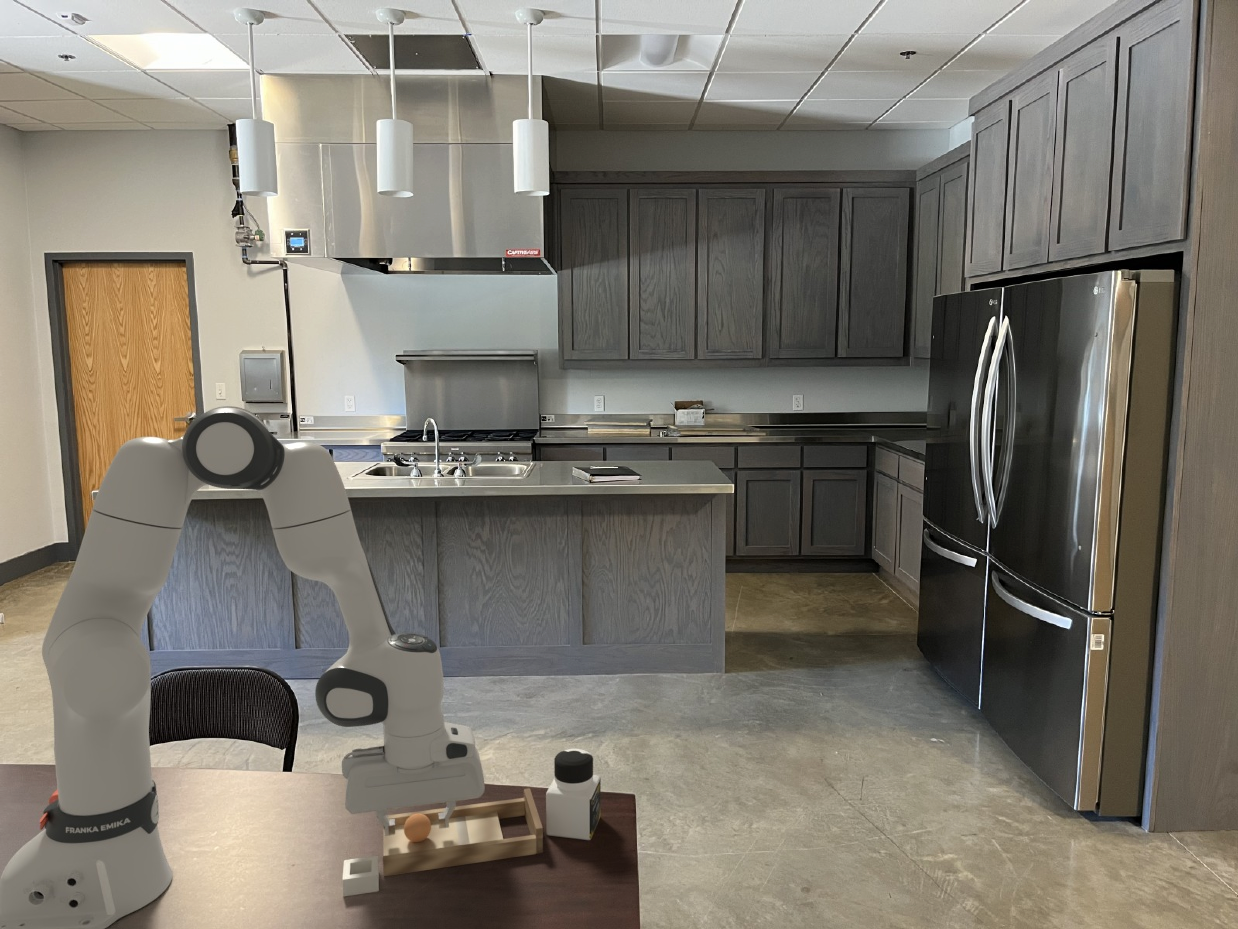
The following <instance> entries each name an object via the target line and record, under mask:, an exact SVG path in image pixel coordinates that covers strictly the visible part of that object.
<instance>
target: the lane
mask: <svg viewBox="0 0 1238 929" xmlns="http://www.w3.org/2000/svg"><path fill="white" fill-rule="evenodd" d="M445 808H446V807H444V808H442V807H441V808H435V809H428V810H427V809H426V810H420V811H412V812H411V811H410V812H404V813H397V814H396V813H395V814H388V815H387V816H388V818H389V819H395V835H390V836H385V826H383V825H382V826H383V827H382V829H383V832H382V833H383V834H382V836H383V837H382V838H383V842H382V844H383V845H382V846H383V847H382V849H383V850H382V851H383V855H382V868H383V872H382V873H383V877H389V876H395V875H401V874H408V873H415V872H421V871H428V870H436V869H442V868H450V867H455V866H456V867H458V866H463V865H470V864H477V863H483V862H491V861H497V860H503V859H510V858H516V857H524V856H532V855H536V854H537V855H538V854H543V853H544V839H543V838H544V834H543V833H544V827H543V825H542V822H541V818H540V815H539V811H538V810H537V806H536V803H535V800H534V796H533V795H532V791H531V788H529V787H528V788H524V789H523V797H520V798H513V799H512V798H511V799H506V800H504V799H503V800H497V801H495V800H494V801H490V802H481V803H475V804H474V803H472V804H466V805H456V807H455V809H454V811H453V813H452V814H451V816H450V818H449V828H442V829H439V823H438V820H439V819H438V813H442V812H444V810H445ZM417 813H420V814H424V815H426V816H427V817H428V818H429V820H430V822H431V831H430V833H429V835H428V837H427V838H426V839H424V840H423V841H421V842H412V841H410V840H409V839H407V837H406V836H405V833H404V825H405V822H406V820H407V819H408V818H409V817H410V816H411V815H413V814H417ZM522 816H524V818H525V820H526V823H527V827H528V831H529V835H525V836H524V835H523V836H515V837H510V838H509V837H508V838H504V837H503V836H504V835H503V832H502V828H501V825H500V819H501V820H502V819H508V818H514V817H515V818H516V817H522Z"/></svg>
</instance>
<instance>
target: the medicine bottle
mask: <svg viewBox="0 0 1238 929" xmlns="http://www.w3.org/2000/svg"><path fill="white" fill-rule="evenodd" d="M553 760H554V761H553V762H554V763H553V764H554V765H553V766H554V768H553V769H554V772H553V773H554V775H553V780H552V781H551V783H550V786H549V787H548V789H547V791H546V792H545V793H546V794H545V810H546V811H545V817H546V819H545V824H546V827H545V828H546V832H545V833H546V835H547V836H550V837H560V838H567V839H575V840H576V839H577V840H585V841H591V839H592V838H593V835H594V833H595V830H596V828H597V826H598V823H599V821H600V818H601V801H602V800H601V793H602V792H601V791H602V790H601V788H602V787H601V782H602V781H601V775H596V774H594V756H593V755H592V753H590V752H589V751H587V750H584V749H581V748H568V749H564V750H562V751H559V752H558V753H557V754H556V755H555V757H554V759H553Z"/></svg>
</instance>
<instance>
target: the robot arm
mask: <svg viewBox="0 0 1238 929" xmlns="http://www.w3.org/2000/svg"><path fill="white" fill-rule="evenodd" d="M205 485H209V486H211V487H213V488H219V489H224V490H225V489H226V490H249V491H257V492H258V493H259V494H260V495H261V497H262V499H263V501H264V504H265V506H266V510H267V513H268V517H269V520H270V525H271V529H272V532H273V533H272V534H273V536H274V541H275V545H276V547H277V550H278V552H279V555H280V557H281V559H282V561H283V563H284V564H285V566H286V568H287V569H288V570H289V571H291V572H292V573H294V574H295V575H297V576H298V577H301V578H303V579H307V580H310V581H317V582H321V583H323V584H324V585H327V586H328V588H329V589H331V591H332V592H333V593H334V595H335V597H336V601H337V602H338V606H339V609H340V612H341V614H342V617H343V620H344V623H345V626H346V630H347V633H348V636H349V644H348V648H347V651H346V653H345V654H344V655H343V656H342V657H340V658H339V659H338V660H336V661H335V662H334V663H333V664H332V665H330V667H329V668H327V669H326V670H325V672H324V673H323V674H322V675H321V676H320V677H319V678H318V681H317V683H316V686H315V692H314V693H315V694H314V695H315V702H316V704H317V707H318V709H319V711H320V713H321V714H322V715H323V717H324V718H325V719H327V720H328V721H329V722H330V723H332V724H334V725H336V726H339V727H342V728H353V727H365V726H371V725H376V724H380V723H381V724H382V726H383V727H382V728H383V745H379V746H378V745H377V746H371V747H367V748H354V749H352V750H351V752H349V753H347V754H345V756H343V758H342V761H341V772H342V773H341V774H342V776H343V778H345V779H346V785H345V787H346V788H345V809H346V810H347V811H348V813H350V814H351V815H353V814H354V815H355V814H362V813H371V812H376V818H377V819H378V820H379V821H380V823H381V824H382V826H385V836H390V835H395V819H389V818H388V815H387V810H396V809H402V808H410V807H417V806H424V805H434V804H442V803H445V805H446V807H444V808H445V810H444V812H442V813H438V819H439V820H438V823H439V829H442V828H449V818H450V816H451V814H452V813H453V811H454V809H455V807H457V801H465V800H474V799H480V798H481V797H482V796H483V794H484V793H485V791H486V790H485V784H486V783H485V776H484V771H483V766H482V760H481V757H480V754H479V751H478V748H477V746H476V738H475V735H474V733H473V730H472V729H471V727H469V726H468V725H463V724H456V723H452V722H447V721H445V720H446V719H445V715H444V713H443V708H442V706H443V705H442V704H443V699H444V695H445V687H444V672H443V661H442V657H441V653H440V650H439V647H438V645H437V644H436V642H435V641H433V639H432V638H430V637H428V636H426V635H423V634H420V633H416V632H401V633H400V632H399V633H396V632H395V630H394V629H393V627H392V624H391V622H390V620H389V617H388V614H387V611H386V608H385V605H384V602H383V600H382V599H383V598H382V596H381V593H380V590H379V587H378V584H377V582H376V578H375V576H374V572H373V570H372V567H371V564H370V562H369V560H368V558H367V555H366V552H365V551H364V549H363V547H362V544H361V541H360V537H359V535H358V534H359V533H358V531H357V527H356V524H355V520H354V516H353V512H352V508H351V504H350V500H349V497H348V494H347V491H346V488H345V485H344V483H343V480H342V477H341V475H340V472H339V469H338V467H337V465H336V463H335V460H334V459H333V457H332V455H331V454H330V452H329V450H328V449H327V448H325V447H324V446H322V445H320V444H318V443H314V442H310V441H297V442H291V443H281V442H280V441H279V440H278V439H277V438H276V437H275V436H274V435H273V434H272V433H271V432H270V431H269V429H268V427H267V425H266V424H265V422H264V421H263V420H262V418H260V417H259V416H257V415H256V414H255V413H253V412H251V411H249V410H247V409H246V408H242V407H237V406H230V405H228V406H219V407H215V408H211V409H209V410H207V411H206V412H203V413H202V414H200V415H199V416H197V417H196V418H195V419H194V420H192V422H191V423H189V425H188V427H187V429H186V430H185V433H184V434H183V435H182V436H181V437H179V438H176V439H169V438H163V437H157V436H141V437H136V438H132V439H130V440H127V441H126V442H125V443H123V444H121V446H120V448H119V449H118V450H117V452H116V454H115V455H114V457H113V459H112V460H111V463H110V464H109V467H108V469H107V470H106V473H105V475H104V477H103V478H102V482H101V483H100V485H99V489H98V491H97V494H96V497H95V499H94V502H93V504H92V508H91V512H90V515H89V517H88V522H87V525H86V528H85V531H84V535H83V538H82V541H81V544H80V546H79V551H78V554H77V556H76V560H75V563H74V567H72V568H73V569H72V571H71V573H70V576H69V578H68V580H67V583H66V584H65V587H64V588H63V591H62V593H61V596H60V598H59V601H58V602H57V605H56V608H55V610H54V613H53V616H52V618H51V621H50V623H49V625H48V628H47V632H46V634H45V636H44V640H43V643H42V647H41V654H42V655H41V656H42V659H43V663H44V665H45V668H46V673H47V675H48V680H49V684H50V690H51V695H52V708H53V710H52V712H53V732H54V733H53V735H54V736H53V737H54V738H53V739H54V741H53V742H54V744H53V745H54V746H53V754H54V764H55V775H56V776H55V777H56V778H55V779H56V785H57V786H56V787H57V789H56V790H55V791H54V792H53V793H52V795H51V796H50V798H49V799H48V805H47V806H46V807H44V810H43V813H42V814H43V815H42V816H41V818H40V819H39V823H38V824H40V826H39V830H42V831H40V832H39V833H37V834H36V835H35V836H33V838H31V839H30V840H29V841H28V842H26V843H24V845H23V846H21V848H19V850H17V851H16V852H15V853H14V855H13V856H12V857H11V858H10V860H9V861H8V862H7V864H6V865H5V867H4V869H3V871H2V873H1V875H0V929H107V928H108V927H109V926H111V925H112V924H113V923H115V922H116V921H118V920H119V919H121V918H123V917H125V916H127V915H130V914H131V913H133V912H135V911H137V910H139V909H141V908H143V907H145V906H147V905H149V904H150V903H152V902H153V901H154V900H156V899H157V898H158V897H159V896H160V895H162V894H163V892H165V891H166V890H167V888H168V887H169V885H170V884H171V882H172V879H173V870H172V868H171V866H170V864H169V861H168V859H167V856H166V854H165V851H164V848H163V844H162V840H161V836H160V832H159V827H158V824H159V819H160V807H159V806H160V804H159V795H158V791H157V784H156V782H155V780H153V774H152V760H151V749H150V748H151V745H150V733H149V732H150V729H149V728H150V717H151V716H150V715H151V702H152V701H151V698H152V694H151V693H152V692H151V691H152V689H151V688H152V679H151V678H152V676H151V675H152V665H151V656H150V654H149V651H148V649H147V648H146V646H145V644H144V643H143V642H142V640H141V636H142V635H141V634H142V629H143V625H144V624H145V620H146V618H147V616H148V613H149V611H150V610H151V607H152V606H153V604H154V602H155V600H156V598H157V595H158V594H159V593H160V592H161V589H163V587H164V586H165V584H167V580H168V577H169V573H170V571H171V567H172V564H173V560H174V557H175V553H176V549H177V546H178V544H179V539H180V537H181V533H182V531H183V527H184V523H185V520H186V516H187V512H188V509H189V507H190V504H191V501H192V500H193V497H194V496H195V494H196V493H197V491H199V490H200V489H201V488H202V487H205Z"/></svg>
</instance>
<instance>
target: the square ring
mask: <svg viewBox="0 0 1238 929" xmlns="http://www.w3.org/2000/svg"><path fill="white" fill-rule="evenodd" d="M379 862H380V861H379V855H373V856H364V857H356V858H351V859H345V860H343V867H342V868H343V869H342V870H343V871H342V898H343V897H350V896H356V895H363V894H368V893H369V894H370V893H376V892H379V890H380V889H379V888H380V886H379V884H380V882H379V881H380V866H379Z"/></svg>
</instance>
